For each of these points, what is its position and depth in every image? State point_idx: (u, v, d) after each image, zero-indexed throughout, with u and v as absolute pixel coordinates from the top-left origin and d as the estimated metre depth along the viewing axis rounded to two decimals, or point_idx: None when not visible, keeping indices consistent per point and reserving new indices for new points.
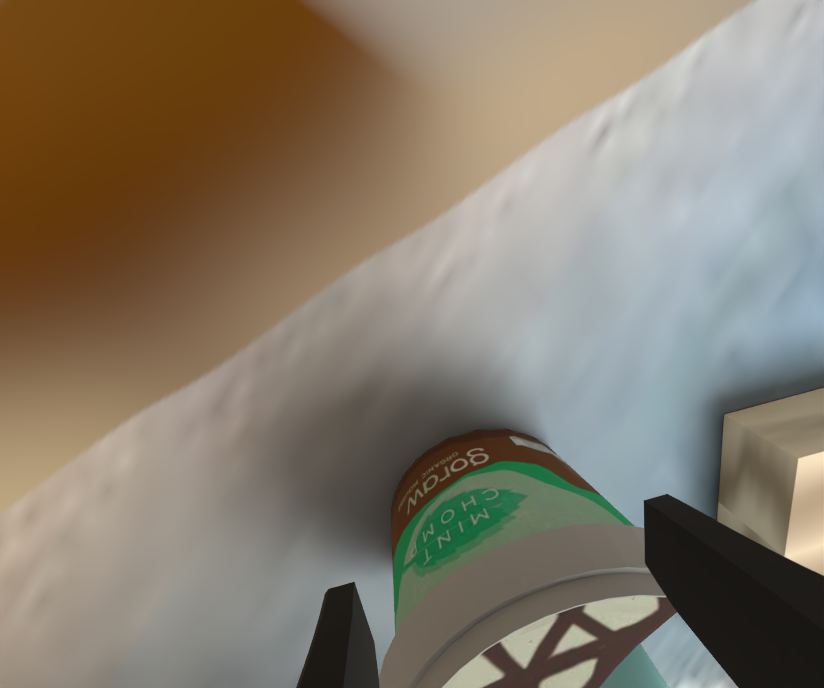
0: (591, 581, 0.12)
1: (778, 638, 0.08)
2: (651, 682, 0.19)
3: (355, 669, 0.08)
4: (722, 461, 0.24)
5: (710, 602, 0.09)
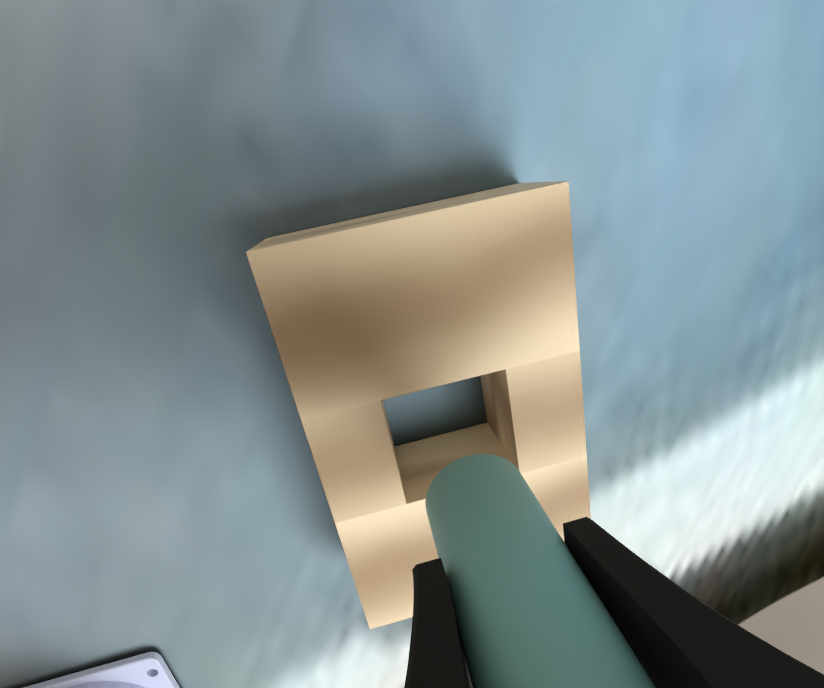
0: None
1: (667, 673, 0.07)
2: None
3: (458, 639, 0.08)
4: None
5: None
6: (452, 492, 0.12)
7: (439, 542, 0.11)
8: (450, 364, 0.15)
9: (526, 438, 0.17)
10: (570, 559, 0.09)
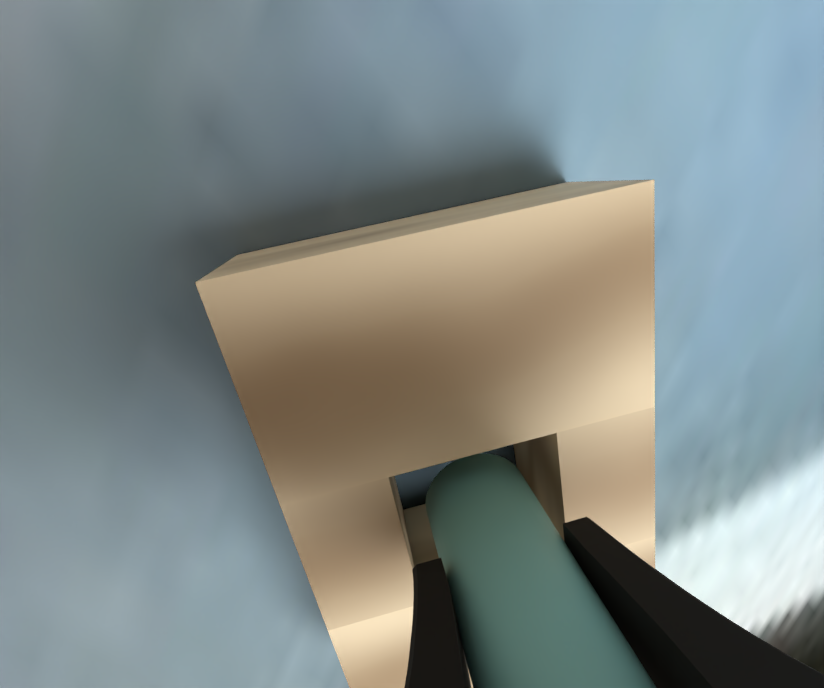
0: None
1: (667, 673, 0.07)
2: None
3: (458, 639, 0.08)
4: None
5: None
6: (452, 492, 0.12)
7: (439, 542, 0.11)
8: (483, 428, 0.11)
9: None
10: (571, 559, 0.09)
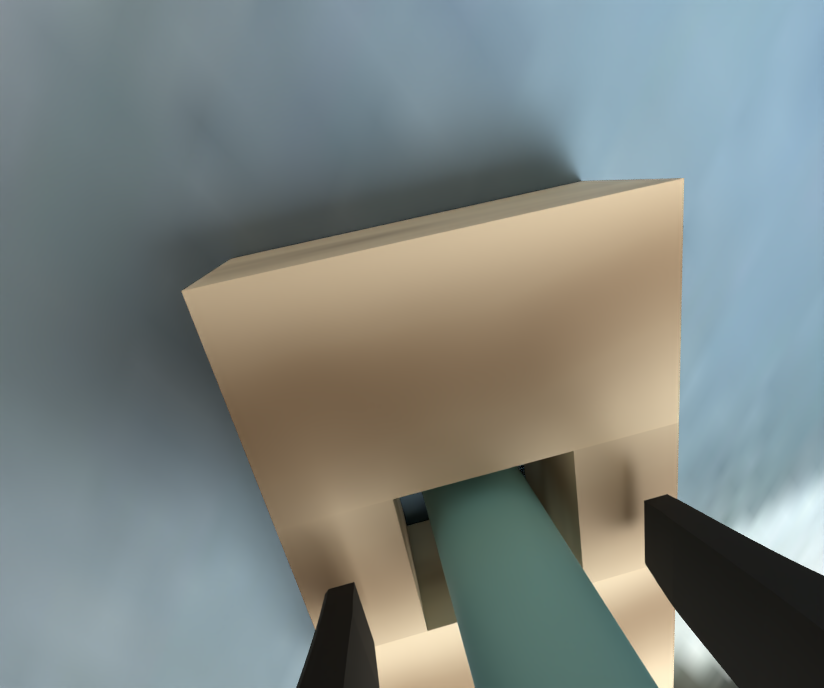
0: None
1: (778, 638, 0.08)
2: (551, 569, 0.09)
3: (355, 669, 0.08)
4: None
5: (711, 602, 0.09)
6: None
7: None
8: (495, 447, 0.10)
9: (597, 540, 0.12)
10: (530, 491, 0.11)
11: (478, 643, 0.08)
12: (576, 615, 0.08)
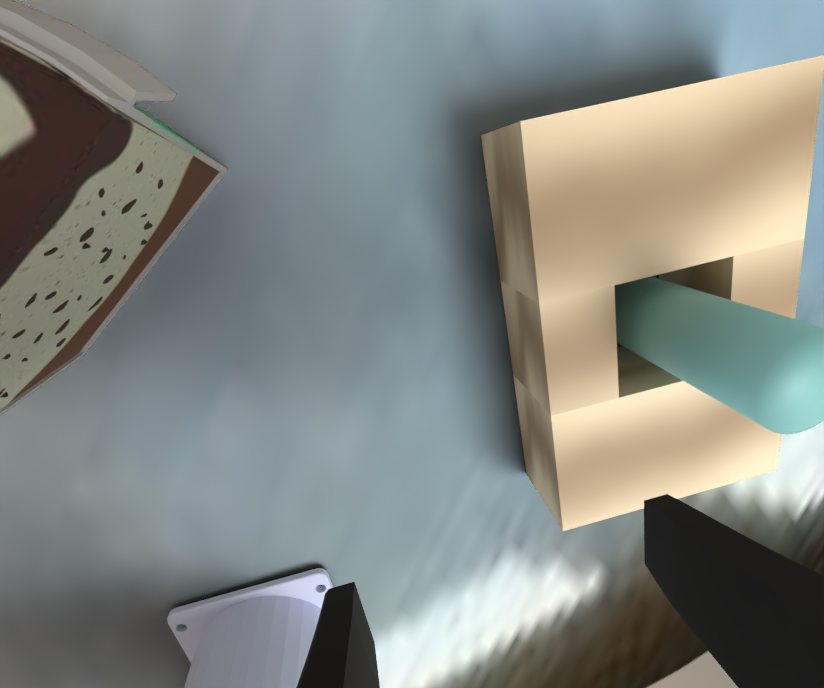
0: None
1: (778, 638, 0.08)
2: (742, 304, 0.14)
3: (355, 669, 0.08)
4: (492, 213, 0.18)
5: (711, 601, 0.09)
6: None
7: None
8: (684, 249, 0.15)
9: None
10: None
11: (703, 341, 0.13)
12: (771, 312, 0.13)
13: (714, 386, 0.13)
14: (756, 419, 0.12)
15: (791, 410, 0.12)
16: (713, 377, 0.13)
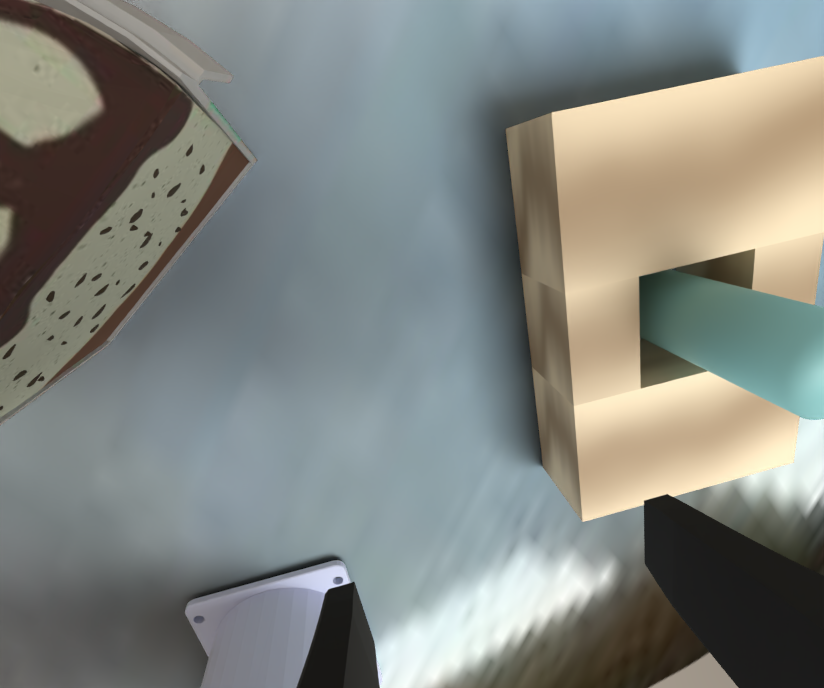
0: None
1: (778, 638, 0.08)
2: (767, 294, 0.14)
3: (355, 669, 0.08)
4: (514, 206, 0.18)
5: (711, 601, 0.09)
6: None
7: None
8: (707, 241, 0.16)
9: None
10: None
11: (729, 329, 0.14)
12: (797, 301, 0.13)
13: (742, 374, 0.13)
14: (785, 404, 0.12)
15: (819, 396, 0.12)
16: (740, 364, 0.13)
